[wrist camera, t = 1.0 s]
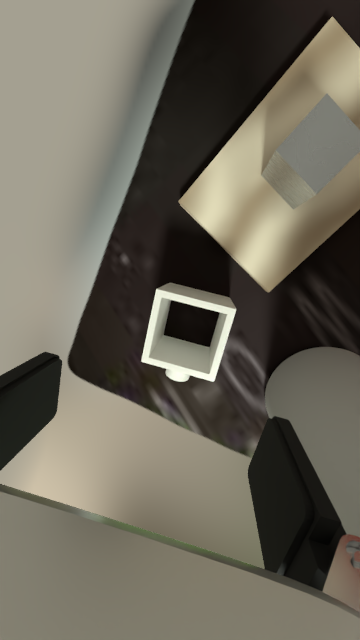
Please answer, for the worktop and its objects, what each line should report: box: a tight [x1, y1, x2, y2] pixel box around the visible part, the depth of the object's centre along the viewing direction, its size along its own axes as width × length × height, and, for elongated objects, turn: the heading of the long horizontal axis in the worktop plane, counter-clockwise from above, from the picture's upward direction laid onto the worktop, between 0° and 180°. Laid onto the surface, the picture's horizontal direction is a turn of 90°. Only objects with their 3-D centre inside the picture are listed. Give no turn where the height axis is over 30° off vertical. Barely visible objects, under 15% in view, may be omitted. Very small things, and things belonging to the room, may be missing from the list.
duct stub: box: [261, 94, 360, 209], centre depth 19 cm, size 4×4×5 cm
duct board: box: [178, 17, 360, 292], centre depth 22 cm, size 13×18×2 cm
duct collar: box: [141, 283, 236, 382], centre depth 24 cm, size 7×10×7 cm
